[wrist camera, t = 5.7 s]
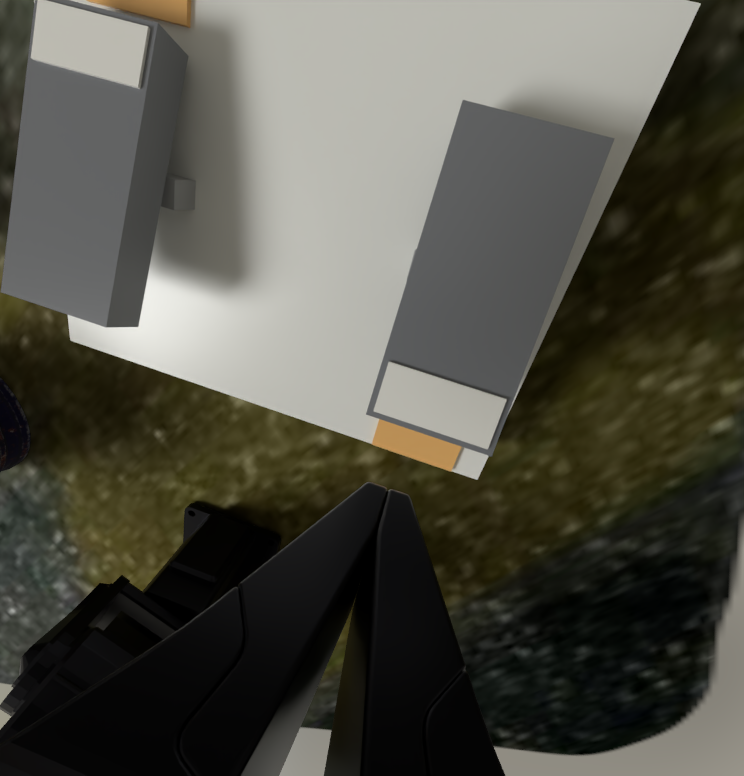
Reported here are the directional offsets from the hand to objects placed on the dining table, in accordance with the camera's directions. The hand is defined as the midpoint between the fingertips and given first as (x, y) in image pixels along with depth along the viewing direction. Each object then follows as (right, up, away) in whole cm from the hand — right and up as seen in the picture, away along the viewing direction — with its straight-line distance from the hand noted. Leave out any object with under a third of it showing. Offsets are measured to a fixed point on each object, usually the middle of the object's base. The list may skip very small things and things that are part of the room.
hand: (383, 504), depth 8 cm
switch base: (-3, +9, +10) cm, 14 cm away
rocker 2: (+3, +5, +4) cm, 7 cm away
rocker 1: (-9, +9, +6) cm, 14 cm away
